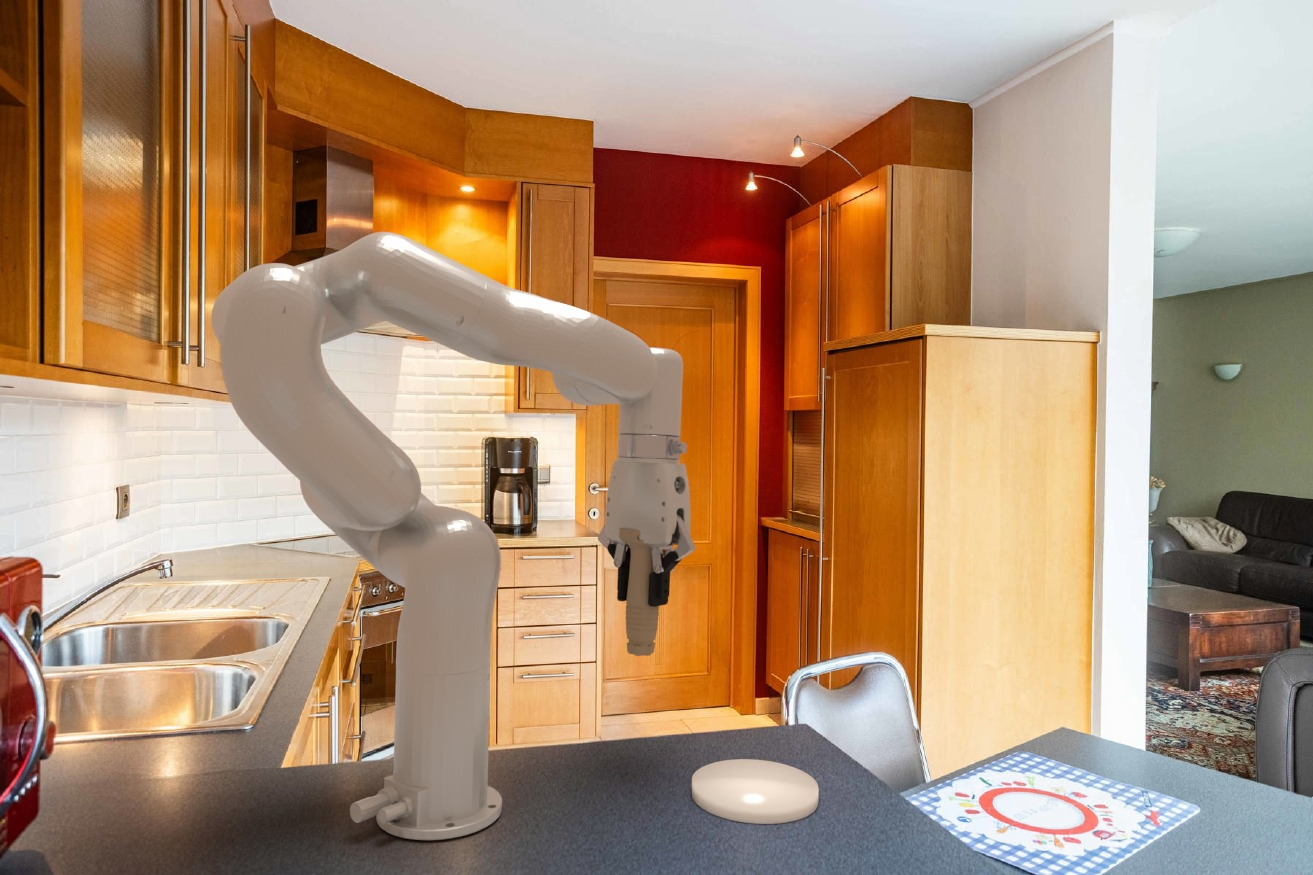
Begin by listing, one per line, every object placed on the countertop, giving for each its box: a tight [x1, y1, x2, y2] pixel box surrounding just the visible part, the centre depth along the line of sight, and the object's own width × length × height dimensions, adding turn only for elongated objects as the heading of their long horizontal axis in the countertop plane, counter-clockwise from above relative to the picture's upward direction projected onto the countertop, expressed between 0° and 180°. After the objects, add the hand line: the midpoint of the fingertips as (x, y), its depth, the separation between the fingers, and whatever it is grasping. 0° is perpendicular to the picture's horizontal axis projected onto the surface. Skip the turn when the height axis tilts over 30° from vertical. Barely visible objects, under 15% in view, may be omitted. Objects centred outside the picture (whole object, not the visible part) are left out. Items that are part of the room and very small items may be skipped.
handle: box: [619, 528, 660, 657], centre depth 103 cm, size 5×6×15 cm
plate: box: [691, 758, 820, 825], centre depth 95 cm, size 14×14×2 cm
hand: (642, 600), depth 103 cm, fingers closed on handle, 4 cm apart
